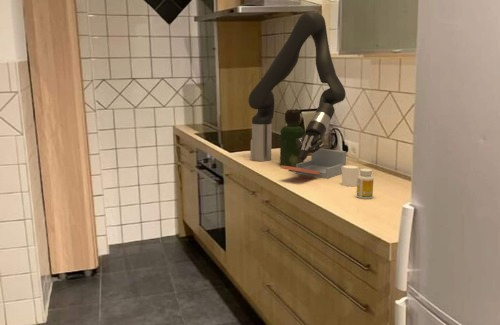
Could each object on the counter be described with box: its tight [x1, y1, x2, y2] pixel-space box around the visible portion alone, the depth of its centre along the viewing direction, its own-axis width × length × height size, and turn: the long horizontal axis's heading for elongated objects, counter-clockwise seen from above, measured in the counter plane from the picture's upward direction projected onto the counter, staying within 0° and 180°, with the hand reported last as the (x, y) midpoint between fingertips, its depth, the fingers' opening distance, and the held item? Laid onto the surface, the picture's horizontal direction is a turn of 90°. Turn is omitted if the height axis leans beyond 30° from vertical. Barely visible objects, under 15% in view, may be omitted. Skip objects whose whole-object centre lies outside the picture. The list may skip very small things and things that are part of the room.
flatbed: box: [295, 148, 347, 179], centre depth 213 cm, size 15×15×9 cm
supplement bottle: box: [356, 168, 375, 200], centre depth 175 cm, size 5×5×10 cm
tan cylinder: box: [341, 164, 361, 187], centre depth 193 cm, size 7×7×7 cm
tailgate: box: [280, 165, 320, 175], centre depth 200 cm, size 2×9×15 cm
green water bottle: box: [279, 109, 305, 167], centre depth 226 cm, size 10×10×25 cm
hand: (300, 159), depth 201 cm, fingers closed
